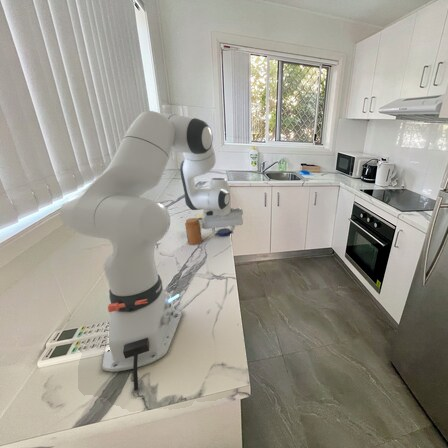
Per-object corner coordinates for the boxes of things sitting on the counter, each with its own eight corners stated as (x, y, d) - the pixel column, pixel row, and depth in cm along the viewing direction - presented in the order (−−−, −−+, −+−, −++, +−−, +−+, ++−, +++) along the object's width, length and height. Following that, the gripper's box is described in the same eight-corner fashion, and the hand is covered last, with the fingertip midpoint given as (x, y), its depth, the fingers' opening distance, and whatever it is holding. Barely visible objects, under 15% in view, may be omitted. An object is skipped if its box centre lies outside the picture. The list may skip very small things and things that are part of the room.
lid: (219, 231, 132) (219, 228, 131) (231, 231, 132) (231, 228, 131) (216, 236, 126) (215, 233, 125) (228, 236, 126) (228, 233, 125)
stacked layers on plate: (210, 227, 136) (209, 218, 134) (193, 229, 133) (192, 219, 131) (209, 220, 144) (208, 212, 142) (193, 222, 141) (192, 213, 139)
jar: (202, 243, 118) (199, 221, 113) (187, 245, 116) (184, 223, 111) (202, 238, 123) (199, 217, 119) (188, 239, 121) (185, 218, 117)
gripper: (241, 205, 129) (243, 229, 135) (200, 209, 123) (203, 233, 128) (243, 209, 124) (244, 234, 129) (200, 213, 117) (203, 238, 123)
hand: (224, 233), depth 129 cm, fingers closed on lid, 6 cm apart
